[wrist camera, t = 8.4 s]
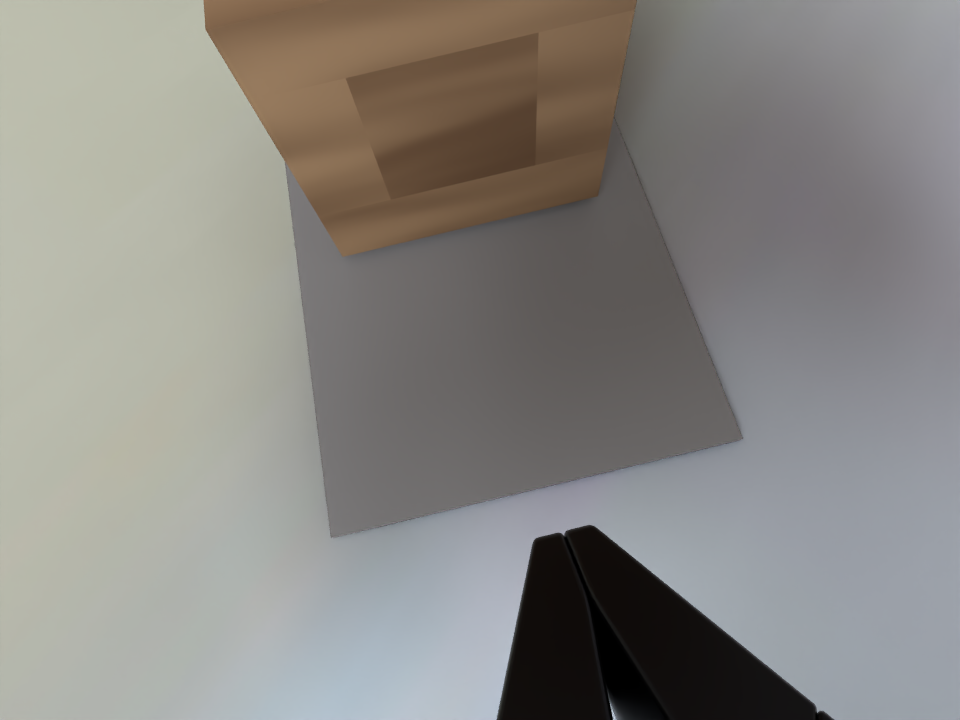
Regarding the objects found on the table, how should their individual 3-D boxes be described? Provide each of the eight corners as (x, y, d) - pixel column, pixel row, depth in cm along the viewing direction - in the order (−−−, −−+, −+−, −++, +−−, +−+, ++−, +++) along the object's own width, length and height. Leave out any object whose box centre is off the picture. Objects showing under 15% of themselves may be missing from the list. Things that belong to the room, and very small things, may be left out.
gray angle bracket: (740, 440, 15) (893, 354, 8) (333, 537, 15) (194, 522, 8) (556, -20, 21) (570, -259, 15) (272, 48, 21) (167, -165, 15)
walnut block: (597, 196, 17) (651, -76, 10) (342, 256, 17) (205, 29, 10) (531, 14, 20) (535, -303, 12) (312, 66, 20) (189, -222, 12)
